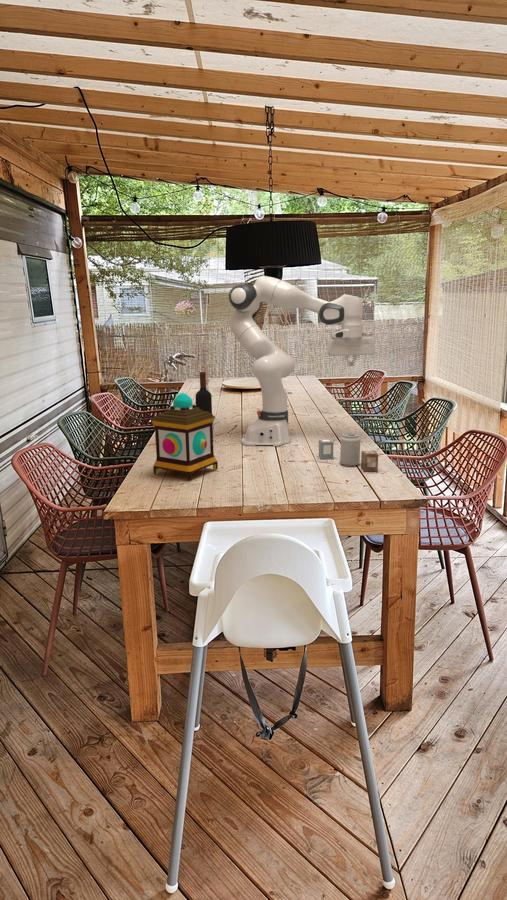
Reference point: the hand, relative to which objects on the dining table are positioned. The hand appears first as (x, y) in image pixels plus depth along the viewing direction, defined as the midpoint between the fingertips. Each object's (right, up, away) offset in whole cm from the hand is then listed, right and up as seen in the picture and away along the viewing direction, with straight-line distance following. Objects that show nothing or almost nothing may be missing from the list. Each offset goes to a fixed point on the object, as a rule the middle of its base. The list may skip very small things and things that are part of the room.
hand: (350, 365), depth 250 cm
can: (-4, -42, -25) cm, 49 cm away
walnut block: (+1, -44, -33) cm, 55 cm away
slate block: (-12, -39, -14) cm, 44 cm away
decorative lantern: (-67, -45, -31) cm, 86 cm away
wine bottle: (-65, -29, +29) cm, 77 cm away
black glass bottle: (-66, -22, +58) cm, 90 cm away
